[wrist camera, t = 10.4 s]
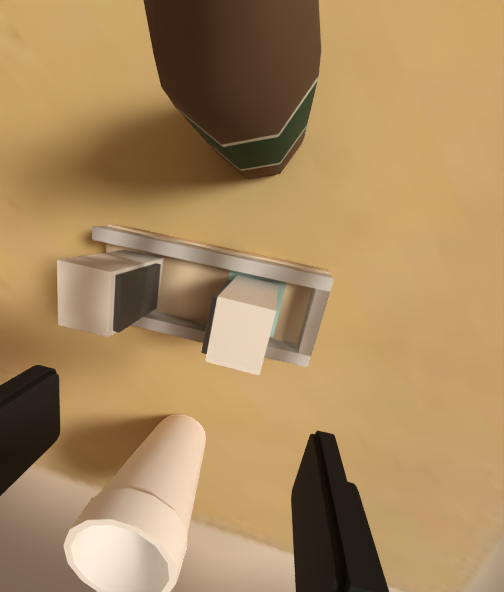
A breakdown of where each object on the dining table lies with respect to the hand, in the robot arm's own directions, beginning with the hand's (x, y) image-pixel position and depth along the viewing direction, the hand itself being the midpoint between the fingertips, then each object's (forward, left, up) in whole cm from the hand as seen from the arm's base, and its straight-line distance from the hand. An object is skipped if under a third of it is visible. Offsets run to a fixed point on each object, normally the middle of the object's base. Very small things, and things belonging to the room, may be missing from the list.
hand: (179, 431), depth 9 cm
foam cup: (-5, -20, -19) cm, 28 cm away
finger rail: (-4, 0, -18) cm, 19 cm away
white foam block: (+1, 0, -17) cm, 17 cm away
